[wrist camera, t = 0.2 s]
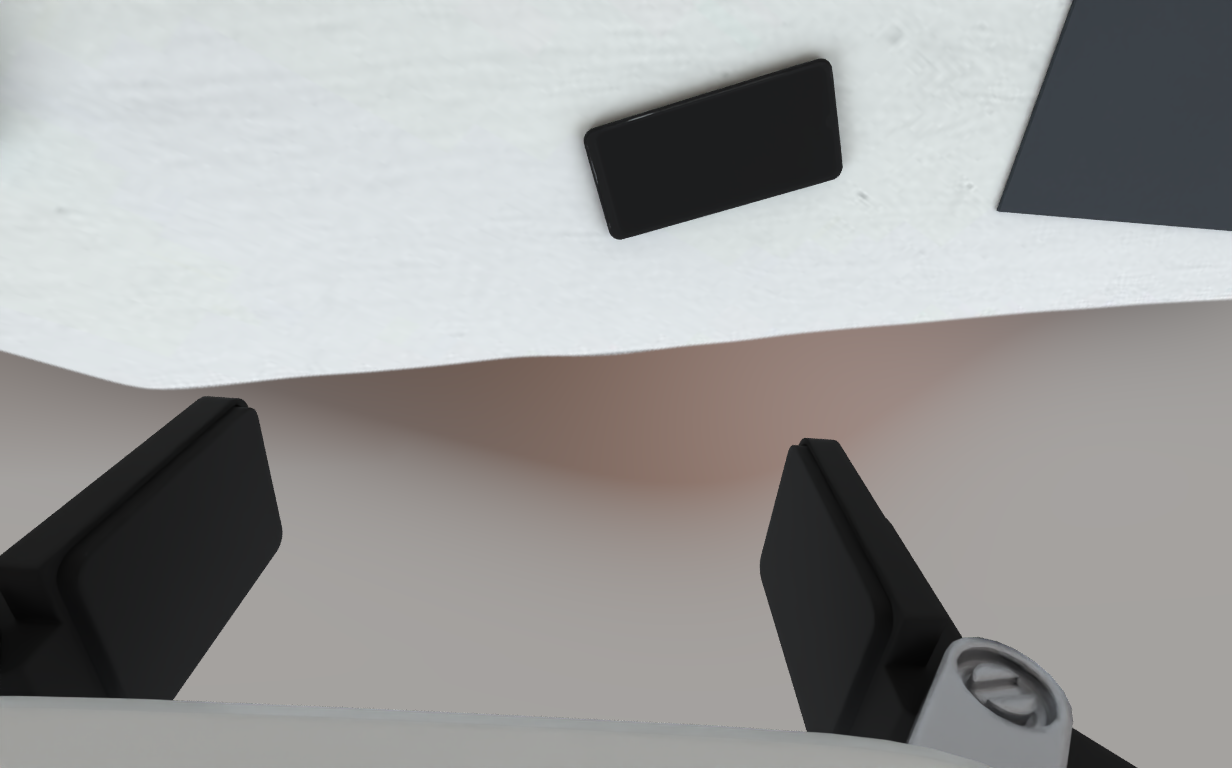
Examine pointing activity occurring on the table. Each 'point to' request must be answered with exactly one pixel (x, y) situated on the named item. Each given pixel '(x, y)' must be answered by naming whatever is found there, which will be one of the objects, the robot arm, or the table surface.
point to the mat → (1133, 118)
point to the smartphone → (717, 150)
